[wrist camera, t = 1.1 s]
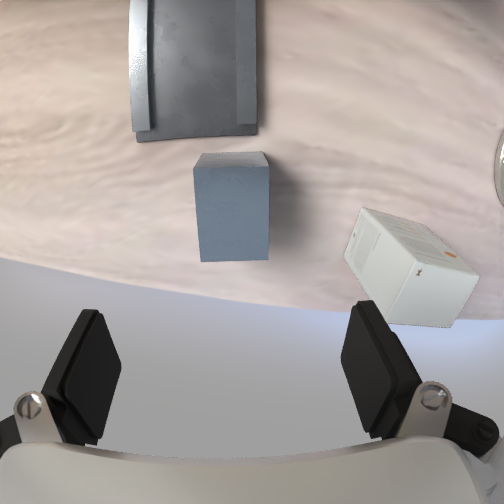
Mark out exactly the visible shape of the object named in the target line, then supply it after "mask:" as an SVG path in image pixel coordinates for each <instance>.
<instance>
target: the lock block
mask: <svg viewBox="0 0 504 504" xmlns="http://www.w3.org/2000/svg"><path fill="white" fill-rule="evenodd" d="M193 174H194V189H195V202H196V214H197V226H198V237H199V248H200V258H201V262H218V261H249V260H268V247H269V165H268V163H267V161H266V159H265V157H264V155H263V153H262V152H226V153H204V154H202V155H201V156H200V158H199V160H198V161H197V163H196V165H195V167H194V168H193Z"/></svg>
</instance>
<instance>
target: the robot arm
mask: <svg viewBox="0 0 504 504" xmlns="http://www.w3.org/2000/svg"><path fill="white" fill-rule="evenodd" d="M495 184H496V190H497V193H498V197H499V199H500V201H501V203H502V204H503V206H504V132H503V134H502V137H501V139H500V141H499V145H498V148H497V153H496V159H495ZM341 364H342V367H343V370H344V373H345V375H346V378H347V381H348V384H349V387H350V390H351V393H352V395H353V398H354V401H355V404H356V408H357V411H358V414H359V416H360V420H361V423H362V426H363V428H364V431H365V432H366V433H367V432H369V434H370V437H371V439H373V438H378V437H381V438H382V440H381V441H376V442H371V443H366V444H361V445H355V446H350V447H344V448H338V449H332V450H325V451H318V452H311V453H303V454H294V455H284V456H272V457H259V458H235V459H233V458H232V459H202V458H177V457H162V456H149V455H140V454H132V453H124V452H117V451H109V450H103V449H96V448H91V447H85V443H86V444H91V445H97V442H98V439H101V438H102V436H103V432H104V428H105V424H106V421H107V417H108V413H109V410H110V406H111V402H112V399H113V396H114V392H115V389H116V385H117V382H118V379H119V375H120V372H121V362H120V359H119V356H118V354H117V351H116V349H115V346H114V344H113V341H112V338H111V336H110V333H109V330H108V328H107V325H106V322H105V319H104V316H103V314H101V313H99V311H98V310H94V309H93V310H92V309H84V310H82V312H81V313H80V315H79V317H78V319H77V321H76V322H75V324H74V326H73V328H72V330H71V332H70V333H69V336H68V337H67V339H66V341H65V343H64V345H63V347H62V349H61V351H60V353H59V355H58V357H57V359H56V361H55V363H54V365H53V367H52V369H51V371H50V373H49V376H48V377H47V379H46V382H45V384H44V386H43V389H42V391H41V393H39V392H36V391H29V392H26V393H24V394H22V395H21V396H20V397H19V398H18V399H17V400H16V402H15V405H14V415H12V416H10V417H8V418H6V419H4V420H2V421H1V422H0V504H504V437H503V438H501V437H500V436H499V429H498V427H497V425H496V423H495V422H494V421H493V420H492V419H490V418H488V417H485V416H483V415H480V414H478V413H476V412H473V411H471V410H468V409H466V408H463V407H461V406H458V405H456V404H454V403H452V396H451V393H450V391H449V390H448V389H447V388H446V387H445V386H444V385H443V384H440V383H439V382H434V381H427V382H424V383H423V382H422V380H421V378H420V376H419V375H418V373H417V371H416V369H415V367H414V365H413V363H412V362H411V360H410V358H409V356H408V355H407V353H406V351H405V349H404V347H403V345H402V344H401V342H400V340H399V339H398V337H397V335H396V334H395V333H394V332H392V331H391V330H390V328H389V326H388V324H387V323H386V321H385V319H384V317H383V316H382V314H381V312H380V311H379V309H378V307H377V306H376V304H375V302H374V301H373V300H367V301H358V302H357V304H356V305H354V306H353V307H352V310H351V315H350V320H349V324H348V328H347V333H346V337H345V341H344V345H343V349H342V353H341Z"/></svg>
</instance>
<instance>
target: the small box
mask: <svg viewBox="0 0 504 504" xmlns="http://www.w3.org/2000/svg"><path fill="white" fill-rule="evenodd" d="M343 258H344V259H345V261H346V262H347V264H348V266H349V267H350V269H351V270H352V272H353V273H354V275H355V277H356V278H357V280H358V281H359V283H360V285H361V286H362V288H363V289H364V291H365V293H366V294H367V296H368V298H369V299H370V300H373V301H374V302H375V304H376V306H377V307H378V309H379V311H380V312H381V314H382V316H383V317H384V319H385V321H386V323H389V324H400V325H413V326H414V325H415V326H427V327H441V328H450V327H451V326H452V324H453V323H454V321H455V320H456V318H457V317H458V315H459V313H460V312H461V310H462V308H463V307H464V305H465V303H466V302H467V300H468V298H469V297H470V295H471V293H472V291H473V289H474V288H475V286H476V284H477V282H478V280H479V278H480V274H479V273H478V272H476V271H475V270H474V269H473V268H472V267H471V266H470V265H469V264H468V263H467V262H466V261H464V260H463V259H462V258H461V257H460V256H459V255H458V254H457V253H455V252H454V251H453V250H452V249H451V248H450V247H449V246H447V245H446V244H445V243H444V242H443V241H442V240H440V239H439V238H438V237H437V236H436V235H434V234H433V233H432V232H431V231H430V230H428V229H427V228H426V227H425V226H424V225H422V224H418V223H415V222H412V221H408V220H405V219H402V218H398V217H395V216H392V215H388V214H385V213H381V212H378V211H374V210H371V209H367V208H364V207H362V208H361V211H360V213H359V216H358V219H357V222H356V224H355V227H354V230H353V232H352V235H351V238H350V240H349V243H348V245H347V248H346V250H345V253H344V255H343Z"/></svg>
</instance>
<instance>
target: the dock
mask: <svg viewBox="0 0 504 504" xmlns="http://www.w3.org/2000/svg"><path fill="white" fill-rule="evenodd" d="M129 76H130V100H131V117H132V130H133V132H136V139H137V142H144V141H154V140H164V139H175V138H189V137H204V136H226V135H256V124H257V86H256V0H130V14H129Z"/></svg>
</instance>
